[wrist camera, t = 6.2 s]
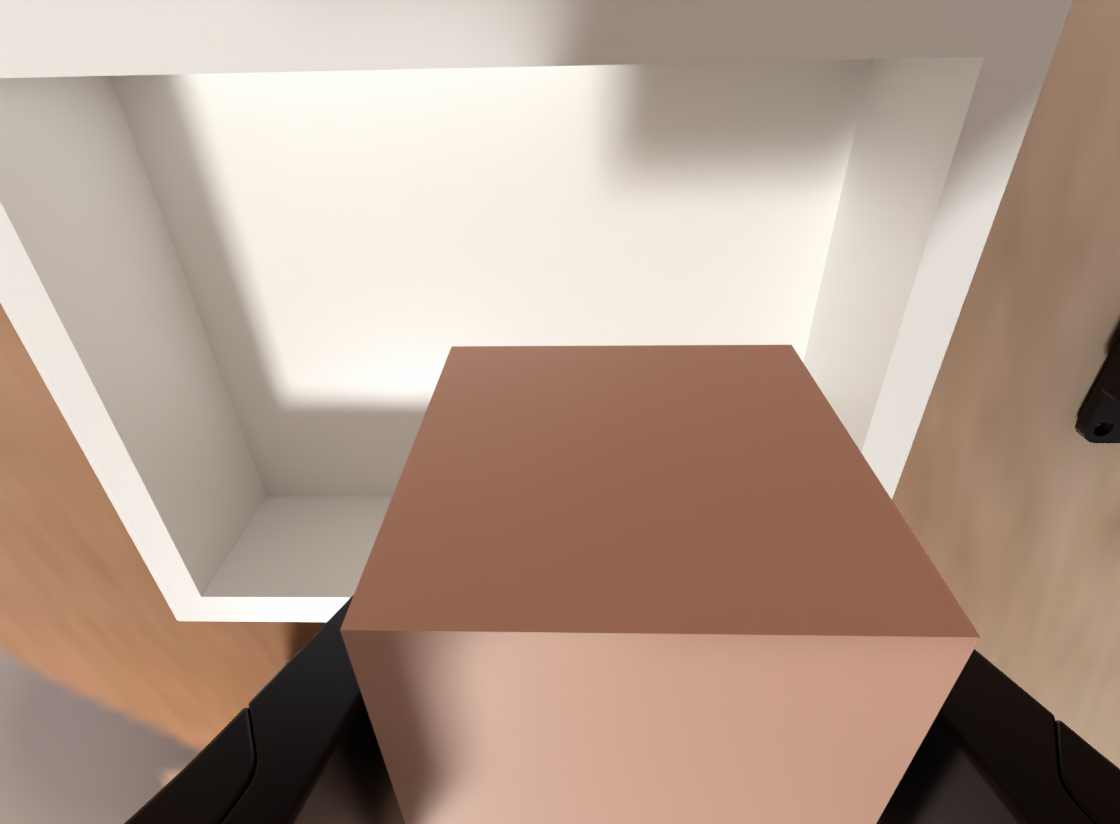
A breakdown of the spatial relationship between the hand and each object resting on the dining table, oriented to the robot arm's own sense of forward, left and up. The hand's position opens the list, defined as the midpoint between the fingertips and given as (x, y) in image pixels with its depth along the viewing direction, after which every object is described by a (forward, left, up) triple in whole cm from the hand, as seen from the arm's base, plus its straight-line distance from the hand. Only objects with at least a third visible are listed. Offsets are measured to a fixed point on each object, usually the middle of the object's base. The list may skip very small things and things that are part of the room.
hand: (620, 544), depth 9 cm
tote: (+3, 0, -9) cm, 9 cm away
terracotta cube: (0, 0, -2) cm, 2 cm away
